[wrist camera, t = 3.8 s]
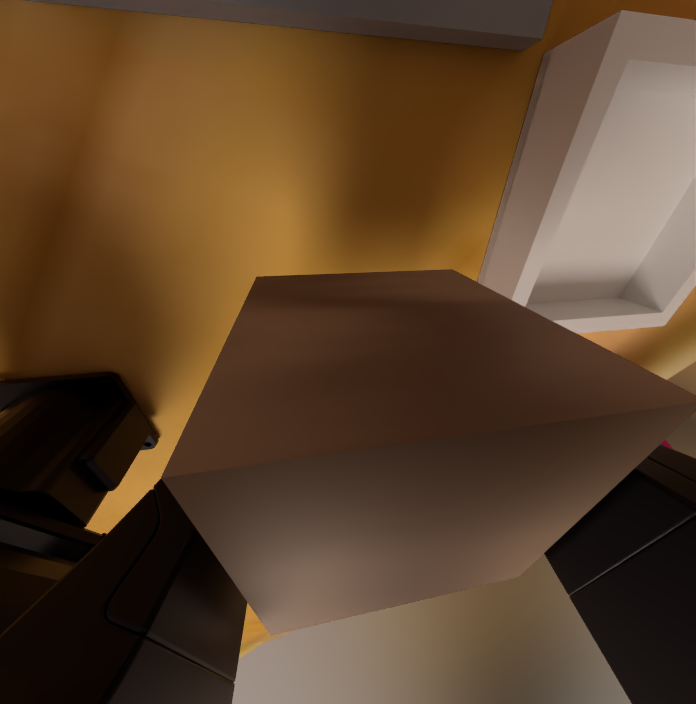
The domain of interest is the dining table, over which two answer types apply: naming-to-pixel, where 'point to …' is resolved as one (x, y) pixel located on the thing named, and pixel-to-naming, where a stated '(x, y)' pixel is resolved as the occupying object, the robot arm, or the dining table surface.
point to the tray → (604, 180)
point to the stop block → (402, 441)
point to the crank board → (370, 17)
